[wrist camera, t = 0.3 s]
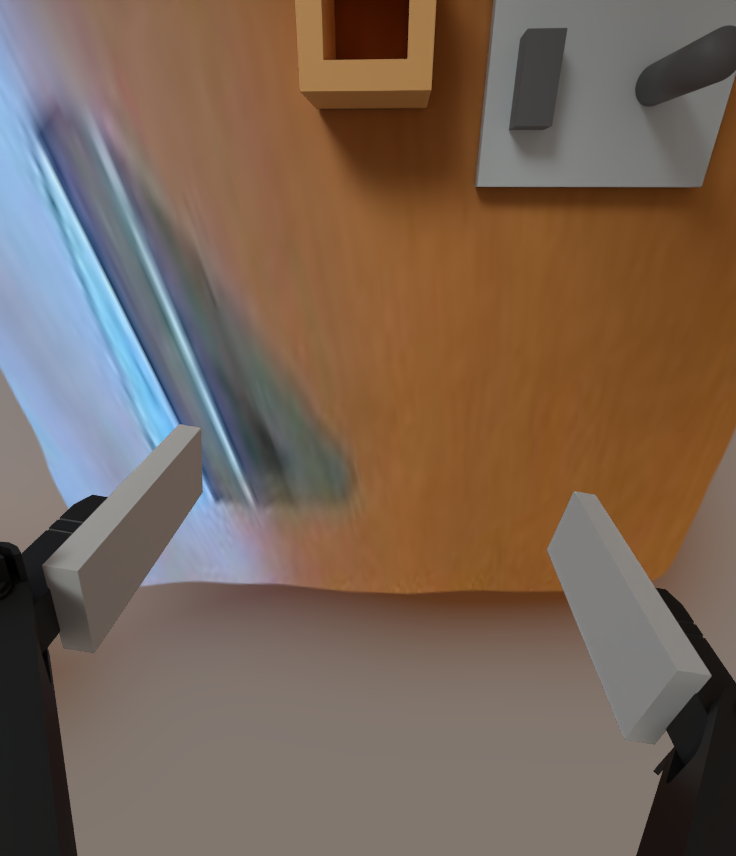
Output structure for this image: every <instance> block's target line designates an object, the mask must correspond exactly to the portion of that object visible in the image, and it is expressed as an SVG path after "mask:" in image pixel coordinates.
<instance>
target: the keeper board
mask: <svg viewBox="0 0 736 856" xmlns="http://www.w3.org/2000/svg"><path fill="white" fill-rule="evenodd" d="M735 75H736V0H493V9H492V20H491V30H490V40H489V50H488V60H487V70H486V80H485V90H484V100H483V110H482V120H481V130H480V141H479V151H478V161H477V171H476V181H475V187H702V184H703V181H704V177H705V174H706V171H707V167H708V164H709V161H710V157H711V154H712V151H713V148H714V144H715V141H716V138H717V134H718V131H719V128H720V124H721V121H722V118H723V115H724V111H725V108H726V105H727V101H728V98H729V95H730V91H731V88H732V85H733V82H734V78H735Z"/></svg>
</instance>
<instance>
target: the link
mask: <svg viewBox="0 0 736 856" xmlns="http://www.w3.org/2000/svg"><path fill="white" fill-rule="evenodd" d="M295 7H296V26H297V45H298V63H299V82H300V92H301V93H302V94H303V95H304V96H305V97H306V98H307V99H308V100H309V101H310V102H311V103H312V105H313V106H314V107H315V108H316V109H361V108H427V105H428V101H429V97H430V93H431V88H432V70H433V52H434V34H435V15H436V0H409V28H408V57H407V59H367V60H336V43H335V0H295Z"/></svg>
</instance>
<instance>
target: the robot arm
mask: <svg viewBox="0 0 736 856" xmlns="http://www.w3.org/2000/svg"><path fill="white" fill-rule="evenodd" d="M202 492H203V490H202V447H201V428H198V427H192V426H186V425H180V424H179V425H178V426H177V427H176V428H175V429H174V430H173V431H172V432H171V433H170V434H169V435H168V436H167V437H166V438H165V439H164V440H163V441H162V442H161V443H160V444H159V445H158V447H157V448H156V449H155V450H154V451H153V452H152V453H151V454H150V455H149V456H148V457H147V458H146V459H145V460H144V461H143V462H142V463H141V464H140V465H139V466H138V467H137V468H136V469H135V470H134V471H133V472H132V473H131V474H130V475H129V476H128V477H127V478H126V479H125V480H124V481H123V483H122V484H121V485H120V486H119V487H118V488H117V489H116V490H115V491H114V492H113V493H112V494H111V495H110V496H109V497H103V496H97V495H91V496H89V497H87V498H85V499H83V500H81V501H80V502H78V503H76V504H74V505H73V506H72V507H70V508H69V509H68V510H67V511H66V512H65V513H64V514H63V515H62V516H61V517H60V520H57V521H56V522H55V523H54V524H53V525H51V527H50V528H49V530H48V531H45V532H44V533H43V534H42V535H41V536H40V537H39V538H38V539H37V540H35V541H34V542H33V543H32V545H30V546H29V547H28V548H27V549H26V550H25V551H24V552H23V553H22V554H21V552H20V550H19V549H18V547H17V546H15V545H13V544H11V543H9V542H0V856H77V850H76V843H75V837H74V828H73V821H72V815H71V807H70V800H69V792H68V785H67V778H66V771H65V763H64V756H63V749H62V742H61V734H60V728H59V720H58V713H57V706H56V698H55V691H54V684H53V676H52V670H51V662H50V655H49V651H48V646H49V645H50V644H51V642H52V641H53V640H54V639H55V637H56V636H57V635H58V633H59V634H60V638H61V642H62V646H63V648H66V649H72V650H78V651H84V652H90V653H95V652H96V650H97V649H98V647H99V646H100V644H101V643H102V641H103V639H104V638H105V637H106V635H107V634H108V632H109V631H110V629H111V628H112V626H113V625H114V623H115V622H116V620H117V619H118V617H119V616H120V615H121V613H122V612H123V610H124V608H125V607H126V606H127V604H128V603H129V601H130V600H131V598H132V597H133V595H134V594H135V592H136V591H137V589H138V588H139V586H140V585H141V583H142V582H143V580H144V579H145V577H146V576H147V574H148V573H149V571H150V570H151V568H152V567H153V565H154V564H155V562H156V561H157V559H158V558H159V556H160V555H161V553H162V552H163V550H164V549H165V547H166V546H167V545H168V543H169V542H170V540H171V539H172V537H173V536H174V534H175V533H176V531H177V530H178V528H179V527H180V525H181V524H182V522H183V521H184V519H185V518H186V516H187V515H188V513H189V512H190V510H191V509H192V507H193V506H194V504H195V503H196V501H197V500H198V498H199V497H200V495H201V494H202ZM547 551H548V554H549V556H550V559H551V561H552V564H553V566H554V568H555V571H556V573H557V576H558V578H559V581H560V583H561V586H562V588H563V591H564V593H565V595H566V598H567V600H568V603H569V605H570V608H571V610H572V613H573V615H574V618H575V620H576V623H577V625H578V627H579V630H580V632H581V634H582V637H583V640H584V642H585V644H586V647H587V650H588V652H589V654H590V657H591V659H592V662H593V664H594V667H595V669H596V672H597V674H598V676H599V679H600V681H601V684H602V686H603V689H604V691H605V694H606V696H607V699H608V701H609V704H610V706H611V708H612V711H613V713H614V716H615V718H616V721H617V723H618V726H619V728H620V731H621V733H622V735H623V738H624V740H630V741H636V742H642V743H648V744H655V743H656V742H657V741H658V740H659V739H660V737H661V736H662V735H663V734H664V733H665V731H666V730H667V732H668V734H669V736H670V738H671V740H672V743H673V745H674V748H673V749H672V750H671V751H670V752H669V753H668V755H667V756H666V757H665V758H664V759H663V760H662V762H661V763H660V764H659V765H658V766H657V767H656V769H655V770H654V772H655V773H656V774H657V775H659V774H660V773H661V771H663V772H662V775H661V778H660V781H659V785H658V788H657V791H656V794H655V798H654V801H653V804H652V807H651V810H650V813H649V817H648V820H647V823H646V827H645V829H644V833H643V836H642V839H641V842H640V846H639V849H638V852H637V855H636V856H736V683H735V681H734V680H733V678H732V677H731V675H730V674H729V673H728V671H727V670H726V668H725V667H724V665H723V664H722V662H721V661H720V659H719V658H718V657H717V655H716V653H715V652H714V651H713V649H712V648H711V646H710V645H709V643H708V642H707V640H706V639H705V638H703V634H702V633H701V631H700V630H699V629H698V627H697V626H696V625H694V623H693V622H694V621H693V620H692V618H691V617H690V615H689V614H688V612H687V611H686V610H685V608H684V607H683V605H682V604H681V603H680V602H679V601H678V600H676V599H675V598H674V597H673V596H672V595H671V594H670V593H669V592H668V591H667V590H665V589H660V588H655V587H654V585H653V584H652V582H651V580H650V579H649V577H648V576H647V574H646V573H645V571H644V570H643V568H642V566H641V565H640V563H639V562H638V560H637V559H636V557H635V556H634V554H633V552H632V551H631V549H630V548H629V546H628V545H627V543H626V542H625V540H624V538H623V537H622V535H621V534H620V532H619V531H618V529H617V528H616V526H615V524H614V523H613V521H612V520H611V518H610V517H609V515H608V514H607V512H606V510H605V509H604V507H603V506H602V504H601V503H600V501H599V500H598V498H597V496H596V495H594V494H588V493H582V492H576V491H574V492H573V494H572V496H571V499H570V501H569V503H568V505H567V507H566V510H565V512H564V514H563V516H562V518H561V521H560V523H559V525H558V527H557V529H556V531H555V534H554V536H553V538H552V540H551V542H550V545H549V547H548V549H547Z"/></svg>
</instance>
